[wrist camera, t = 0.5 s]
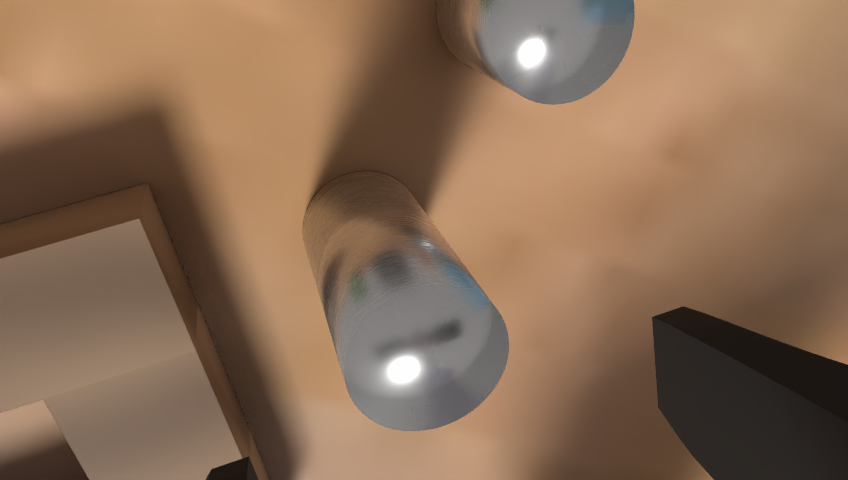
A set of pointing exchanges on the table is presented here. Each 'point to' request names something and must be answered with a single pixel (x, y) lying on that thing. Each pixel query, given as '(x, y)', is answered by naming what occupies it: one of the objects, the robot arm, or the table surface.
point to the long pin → (400, 306)
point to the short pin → (539, 42)
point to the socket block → (115, 343)
